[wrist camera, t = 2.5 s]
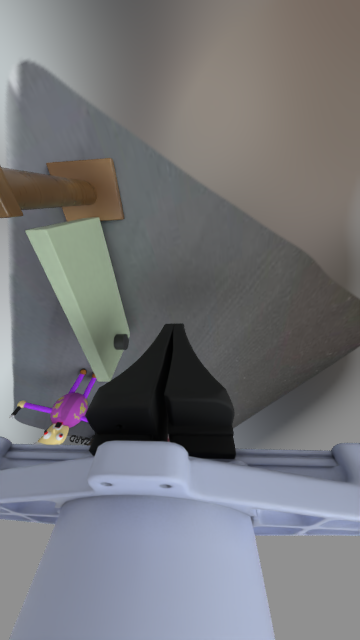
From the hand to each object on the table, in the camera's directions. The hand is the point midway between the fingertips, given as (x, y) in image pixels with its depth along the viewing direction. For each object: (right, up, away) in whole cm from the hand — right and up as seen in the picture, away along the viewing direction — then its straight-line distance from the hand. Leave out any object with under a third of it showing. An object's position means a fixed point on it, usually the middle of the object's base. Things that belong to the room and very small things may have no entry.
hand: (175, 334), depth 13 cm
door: (-6, +5, +6) cm, 10 cm away
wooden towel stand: (-7, +12, +2) cm, 14 cm away
